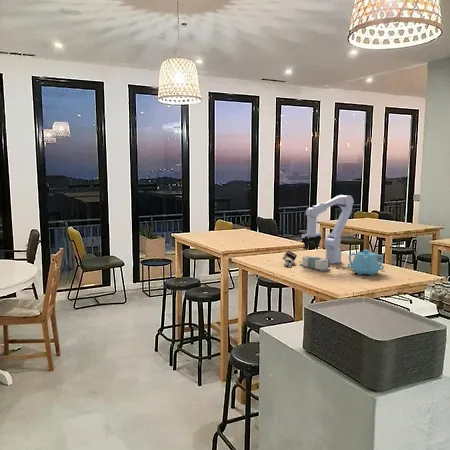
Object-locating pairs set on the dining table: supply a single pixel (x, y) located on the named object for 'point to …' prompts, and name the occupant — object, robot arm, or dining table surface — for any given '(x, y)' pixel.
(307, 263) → the mounted module
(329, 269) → the rail
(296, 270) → the dining table surface
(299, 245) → the dining table surface
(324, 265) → the block
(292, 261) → the figurine
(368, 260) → the decorative pot
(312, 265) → the block
